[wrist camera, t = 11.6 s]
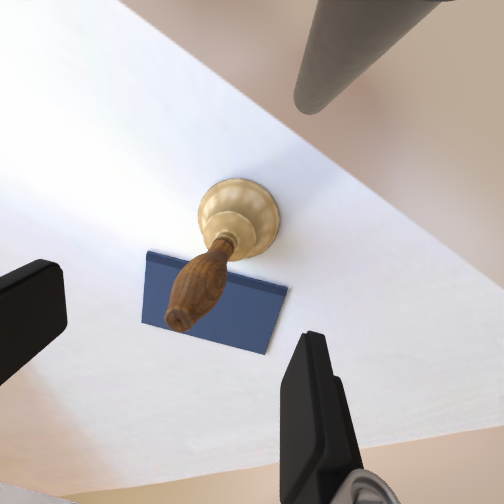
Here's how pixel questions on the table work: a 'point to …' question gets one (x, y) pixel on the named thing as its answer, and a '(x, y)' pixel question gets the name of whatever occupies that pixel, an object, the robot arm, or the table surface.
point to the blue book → (217, 306)
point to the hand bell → (222, 246)
